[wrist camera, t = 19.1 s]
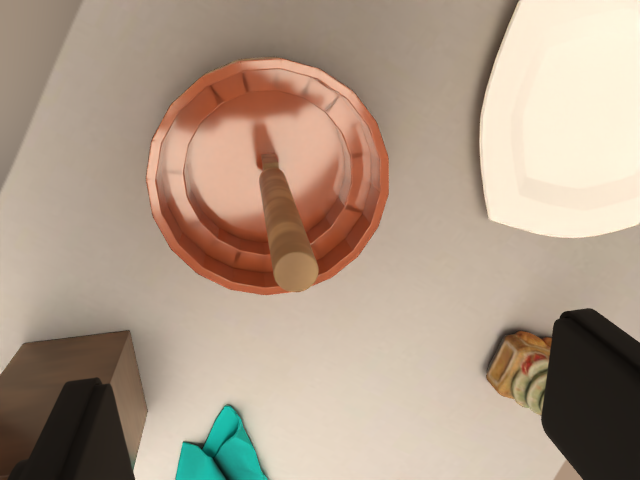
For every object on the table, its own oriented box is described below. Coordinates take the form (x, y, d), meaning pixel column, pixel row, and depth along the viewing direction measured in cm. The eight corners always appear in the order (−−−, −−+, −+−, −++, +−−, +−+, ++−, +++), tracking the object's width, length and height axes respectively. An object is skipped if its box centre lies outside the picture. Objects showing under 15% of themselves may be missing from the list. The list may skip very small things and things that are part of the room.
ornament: (574, 335, 47) (656, 406, 38) (548, 390, 49) (621, 470, 40) (498, 323, 45) (565, 394, 36) (475, 380, 47) (533, 461, 38)
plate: (732, -21, 38) (757, -24, 36) (664, 227, 44) (682, 234, 43) (487, -32, 35) (500, -36, 33) (455, 234, 42) (465, 243, 40)
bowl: (178, 273, 39) (169, 306, 34) (141, 64, 34) (124, 67, 29) (370, 251, 41) (389, 280, 36) (366, 50, 35) (388, 51, 30)
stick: (258, 187, 37) (276, 302, 20) (255, 154, 36) (270, 247, 20) (283, 185, 37) (320, 296, 21) (280, 152, 36) (317, 241, 20)
